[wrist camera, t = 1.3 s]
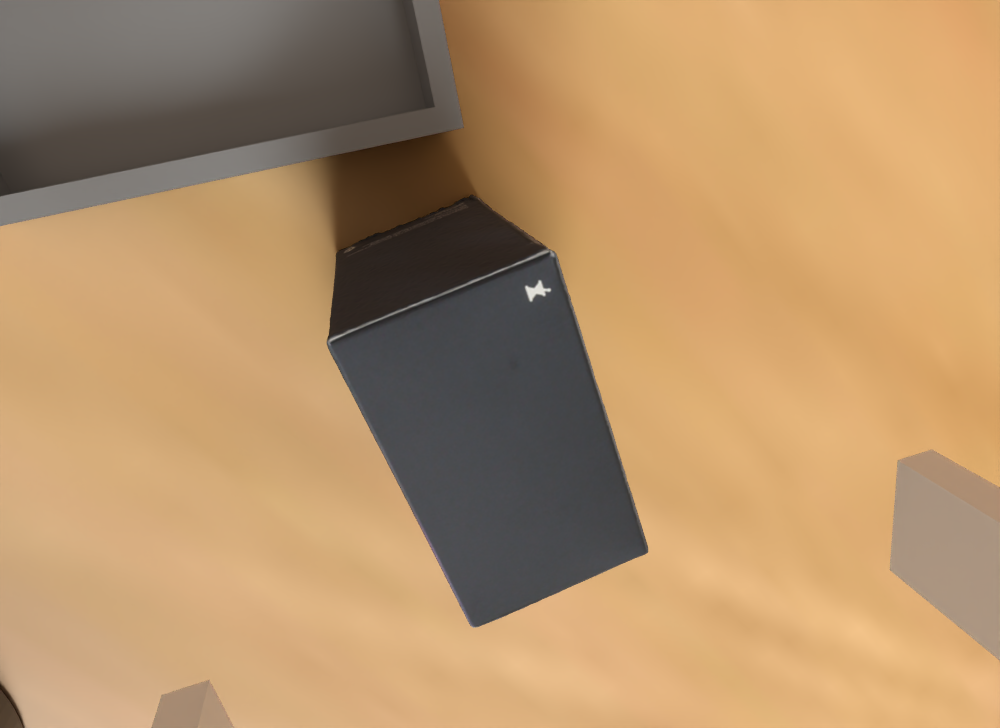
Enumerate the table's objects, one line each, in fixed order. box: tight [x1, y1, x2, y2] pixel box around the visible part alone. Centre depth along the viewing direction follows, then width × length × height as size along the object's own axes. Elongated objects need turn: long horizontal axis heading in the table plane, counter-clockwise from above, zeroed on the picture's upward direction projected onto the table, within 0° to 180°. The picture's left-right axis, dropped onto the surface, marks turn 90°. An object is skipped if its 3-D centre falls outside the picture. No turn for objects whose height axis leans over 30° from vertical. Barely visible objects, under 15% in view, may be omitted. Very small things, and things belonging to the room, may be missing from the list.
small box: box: [327, 195, 648, 628], centre depth 22 cm, size 11×6×10 cm, turn 20°
